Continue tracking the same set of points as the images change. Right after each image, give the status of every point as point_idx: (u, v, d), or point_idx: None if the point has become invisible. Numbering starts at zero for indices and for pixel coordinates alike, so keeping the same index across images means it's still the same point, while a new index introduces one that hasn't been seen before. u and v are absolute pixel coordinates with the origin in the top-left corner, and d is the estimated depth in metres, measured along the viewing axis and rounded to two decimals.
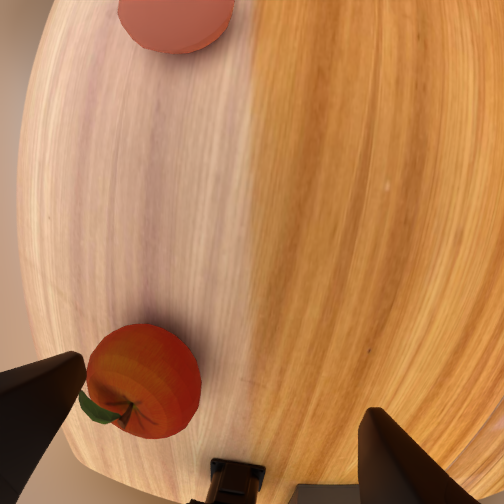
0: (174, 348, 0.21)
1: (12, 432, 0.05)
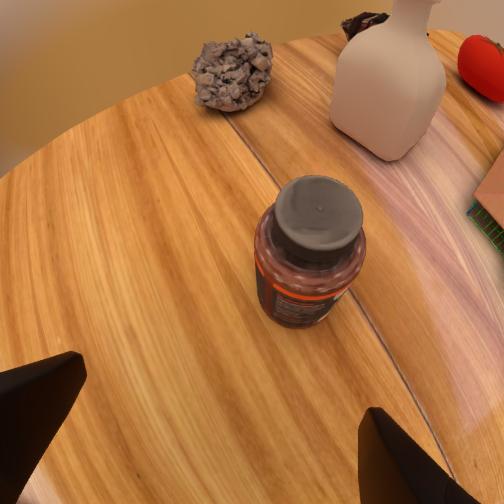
0: None
1: (12, 432, 0.05)
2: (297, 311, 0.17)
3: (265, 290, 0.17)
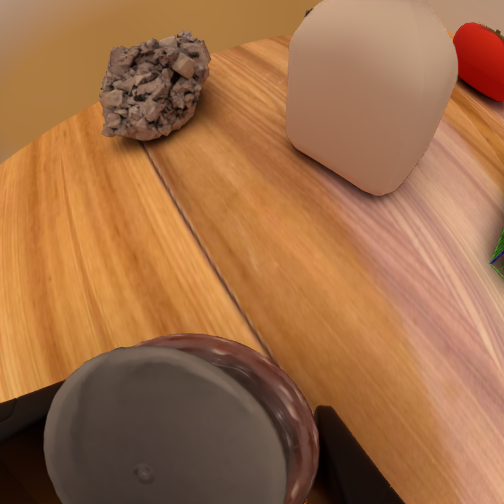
0: None
1: None
2: None
3: None
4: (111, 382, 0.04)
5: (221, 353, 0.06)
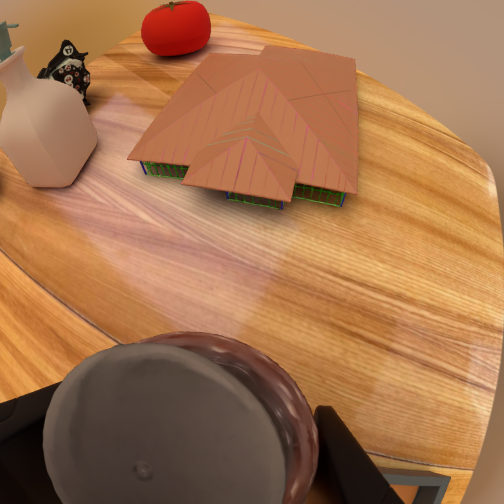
0: None
1: None
2: None
3: None
4: (110, 379, 0.04)
5: (220, 351, 0.06)
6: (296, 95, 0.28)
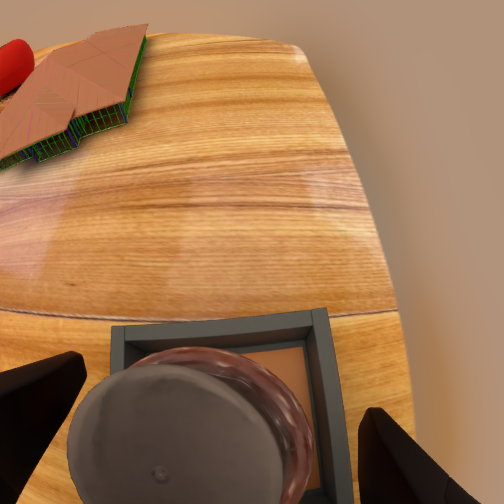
0: None
1: (12, 432, 0.05)
2: None
3: None
4: (129, 396, 0.04)
5: (224, 366, 0.07)
6: (75, 62, 0.26)
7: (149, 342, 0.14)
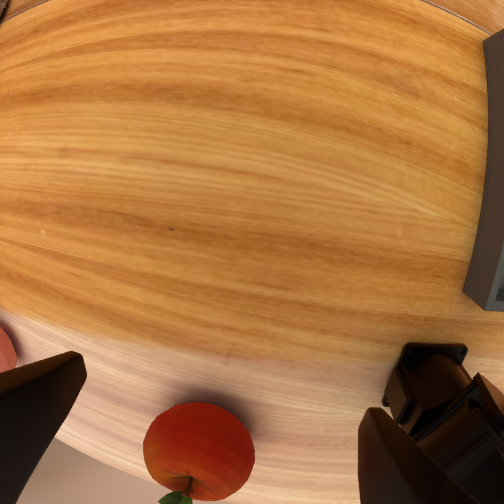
0: (155, 420, 0.21)
1: (12, 432, 0.05)
2: None
3: None
4: None
5: None
6: None
7: None
